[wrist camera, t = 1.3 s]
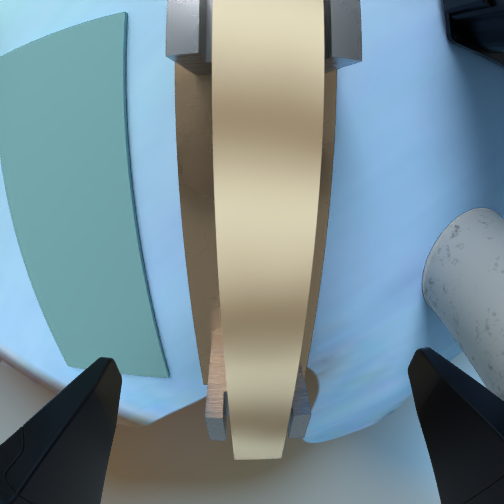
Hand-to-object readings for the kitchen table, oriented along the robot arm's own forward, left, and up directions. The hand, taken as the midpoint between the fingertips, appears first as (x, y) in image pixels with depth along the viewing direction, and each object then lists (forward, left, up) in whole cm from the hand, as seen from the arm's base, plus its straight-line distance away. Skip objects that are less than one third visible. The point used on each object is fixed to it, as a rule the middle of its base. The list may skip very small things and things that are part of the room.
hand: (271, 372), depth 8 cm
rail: (0, 0, -6) cm, 6 cm away
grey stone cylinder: (-17, +3, -11) cm, 21 cm away
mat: (+12, 0, -11) cm, 16 cm away
